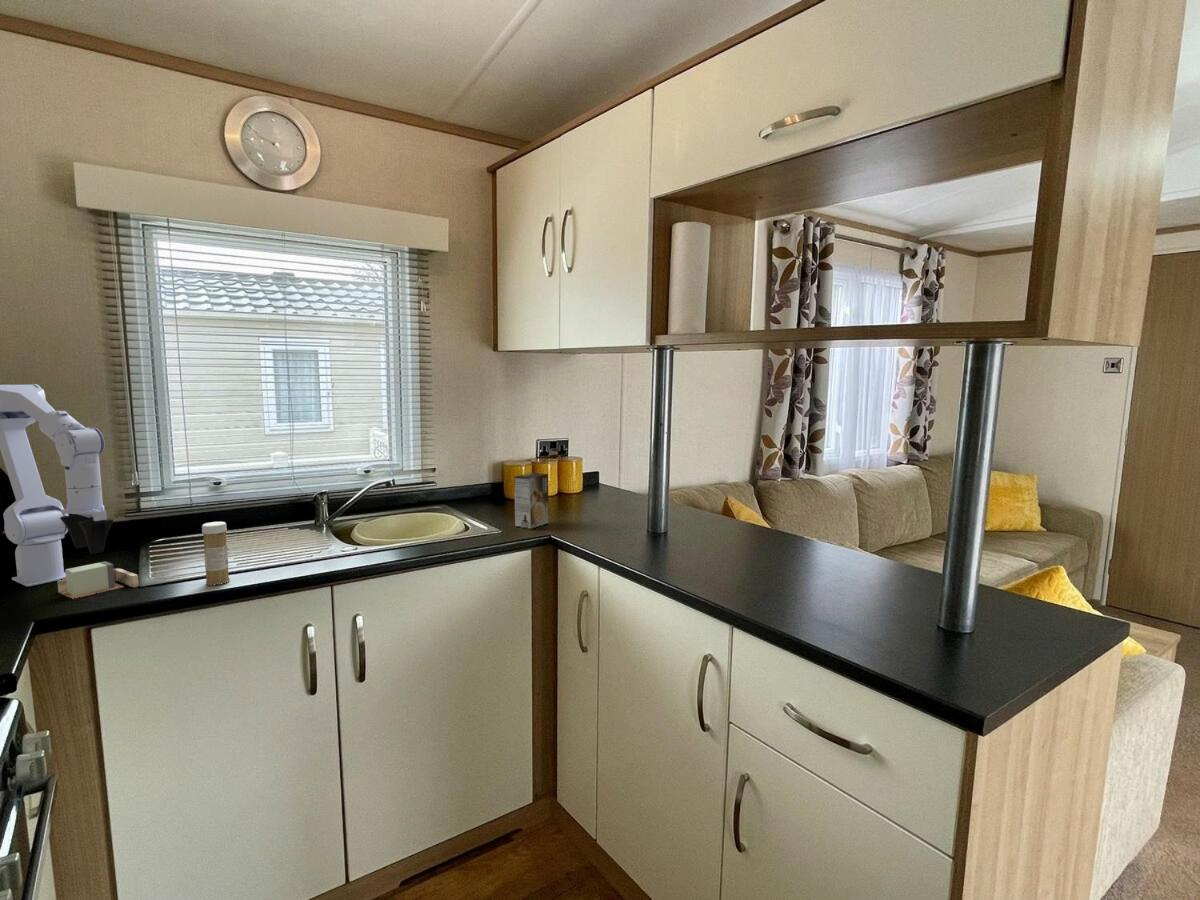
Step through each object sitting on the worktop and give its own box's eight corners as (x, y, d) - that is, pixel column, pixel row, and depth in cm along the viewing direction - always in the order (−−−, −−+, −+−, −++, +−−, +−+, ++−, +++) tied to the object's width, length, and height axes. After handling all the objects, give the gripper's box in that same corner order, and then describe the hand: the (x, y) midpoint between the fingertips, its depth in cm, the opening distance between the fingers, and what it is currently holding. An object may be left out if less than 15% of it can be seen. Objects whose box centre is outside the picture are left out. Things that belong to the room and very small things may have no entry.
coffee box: (533, 522, 201) (532, 472, 199) (549, 524, 197) (548, 473, 195) (514, 527, 193) (513, 475, 191) (530, 530, 189) (530, 477, 188)
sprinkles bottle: (212, 579, 142) (208, 521, 140) (233, 579, 142) (230, 520, 141) (201, 586, 137) (197, 525, 136) (223, 585, 138) (219, 525, 136)
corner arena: (58, 592, 133) (57, 581, 133) (119, 578, 142) (118, 568, 142) (76, 600, 128) (75, 589, 128) (138, 586, 137) (137, 575, 137)
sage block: (67, 592, 132) (65, 569, 132) (107, 583, 138) (105, 561, 138) (74, 596, 130) (72, 572, 130) (115, 586, 136) (113, 564, 136)
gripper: (46, 485, 133) (52, 549, 134) (74, 492, 125) (80, 559, 126) (87, 481, 138) (92, 542, 140) (116, 487, 131) (121, 551, 132)
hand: (89, 549), depth 134 cm, fingers open, 7 cm apart
